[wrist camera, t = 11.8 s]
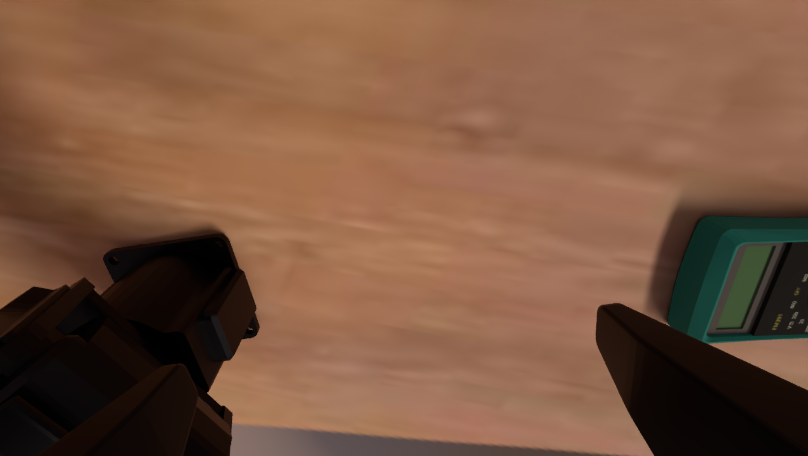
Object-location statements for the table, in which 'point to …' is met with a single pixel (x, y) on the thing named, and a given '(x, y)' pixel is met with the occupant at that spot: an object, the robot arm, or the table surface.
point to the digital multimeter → (743, 280)
